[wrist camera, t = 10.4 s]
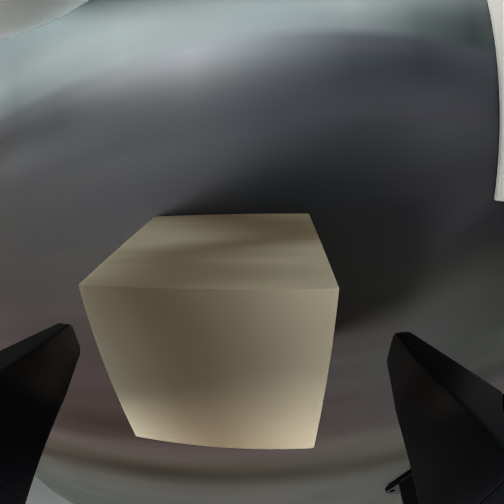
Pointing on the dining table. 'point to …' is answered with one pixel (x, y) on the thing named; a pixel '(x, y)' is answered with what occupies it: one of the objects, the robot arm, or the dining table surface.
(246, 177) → the dining table surface
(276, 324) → the beech block
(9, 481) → the robot arm
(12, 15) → the lidded jar
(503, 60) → the letter
